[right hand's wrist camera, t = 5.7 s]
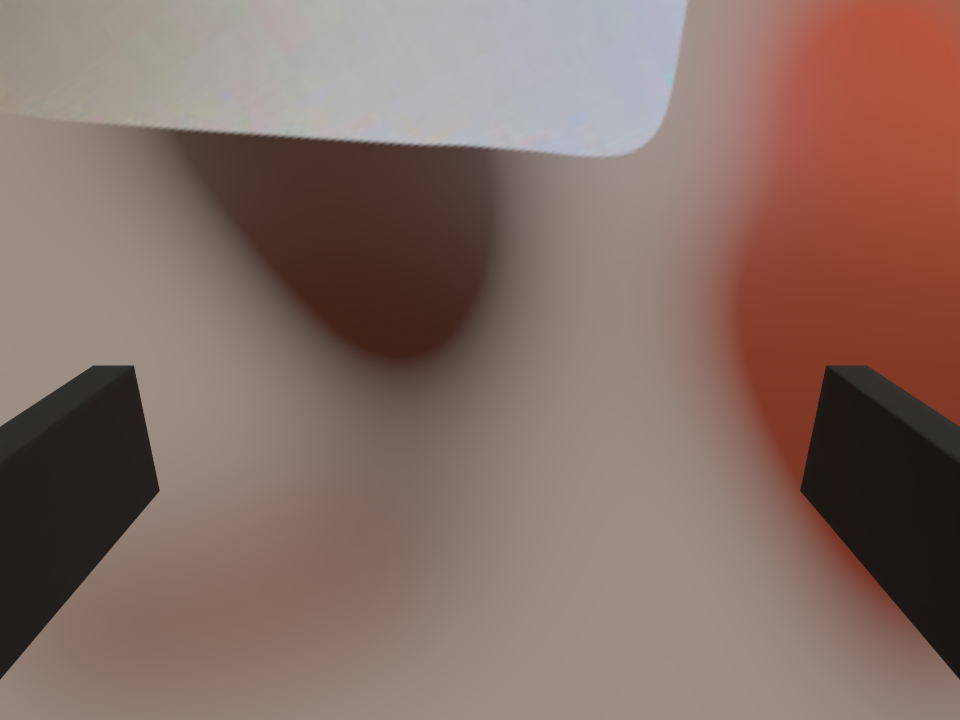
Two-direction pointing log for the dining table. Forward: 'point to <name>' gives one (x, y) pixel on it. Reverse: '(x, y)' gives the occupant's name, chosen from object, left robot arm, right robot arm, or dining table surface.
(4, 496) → the right robot arm
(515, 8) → the dining table surface
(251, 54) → the dining table surface
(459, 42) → the dining table surface
